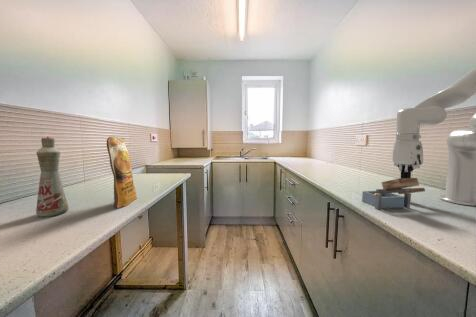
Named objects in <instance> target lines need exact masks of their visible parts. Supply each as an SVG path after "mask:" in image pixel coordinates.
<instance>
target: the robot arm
mask: <svg viewBox="0 0 476 317" xmlns="http://www.w3.org/2000/svg"><path fill="white" fill-rule="evenodd" d="M475 95H476V66H475V67H474V68H472V69H471V70H469V71H467V73H465V74H464V75H462V76H461V77H460V78H458V79H457V80H456V81H454V82H453V83H452V84H451V85H449V86H448V87H446V88H444V89H443V90H441V91H439V92H437V93H435V94H433V95H432V96H429V97H427V98H426V99H424V100H423V101H421V102H419V103H418V104H416V105H415V106H414V107H409V108H402V109H399V110H398V111H397V114H396V137H395V142H394V145H393V151H392V162H393V166H395V167H397V169H399V170H398V171H400V178H412V172H413V171H414V170H417V169H420V168H421V166H422V165H423V163H424V148H423V144H422V141H420V139H421V138H422V135H421V134H420V131H421V130H420V129H421V127H422V126H424V127H425V126H426V127H427V126H435V125H439V124H441V123H443V122H444V121H445V120H446V119H447V116H448V113H447V110H446V109H449V108H452V107H455V106H458V105H460V104H463V103H466V102H467V101H469V100H470V99H471V98H473V97H474V96H475ZM468 123H469V124H468V125H469V127H461V128H458V129H455V130H452V131H451V132H449V133H448V135H447V138H446V144H447V150H448V161H447V162H448V163H447V171H446V182H445V184H446V185H445V192H444V193H445V194H442V195H440V196H439V199H440V200H442V201H444V202H448V203H452V204H457V205H463V206H472V207H473V206H475V207H476V112H475V113H474V114H473V115H472V116H471V118H470V119H469V122H468Z"/></svg>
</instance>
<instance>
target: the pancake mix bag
mask: <svg viewBox="0 0 476 317" xmlns="http://www.w3.org/2000/svg"><path fill="white" fill-rule="evenodd" d="M106 150H107V153H108V158H109V165H110V169H111V171H112V175H113V207H114V208H115V209H119V208H122V207H123V208H124V207H126V206H128V205H130V204H131V203H133V202H134V201H135V200H136V199H137V198H138V196H137V191H136V187H135V183H134V175H133V170H132V164H131V162H132V161H131V158H130V154H129V150H128V148H127V144H126V141H125V138H124V137H117V136H108V137H107V139H106Z"/></svg>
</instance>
